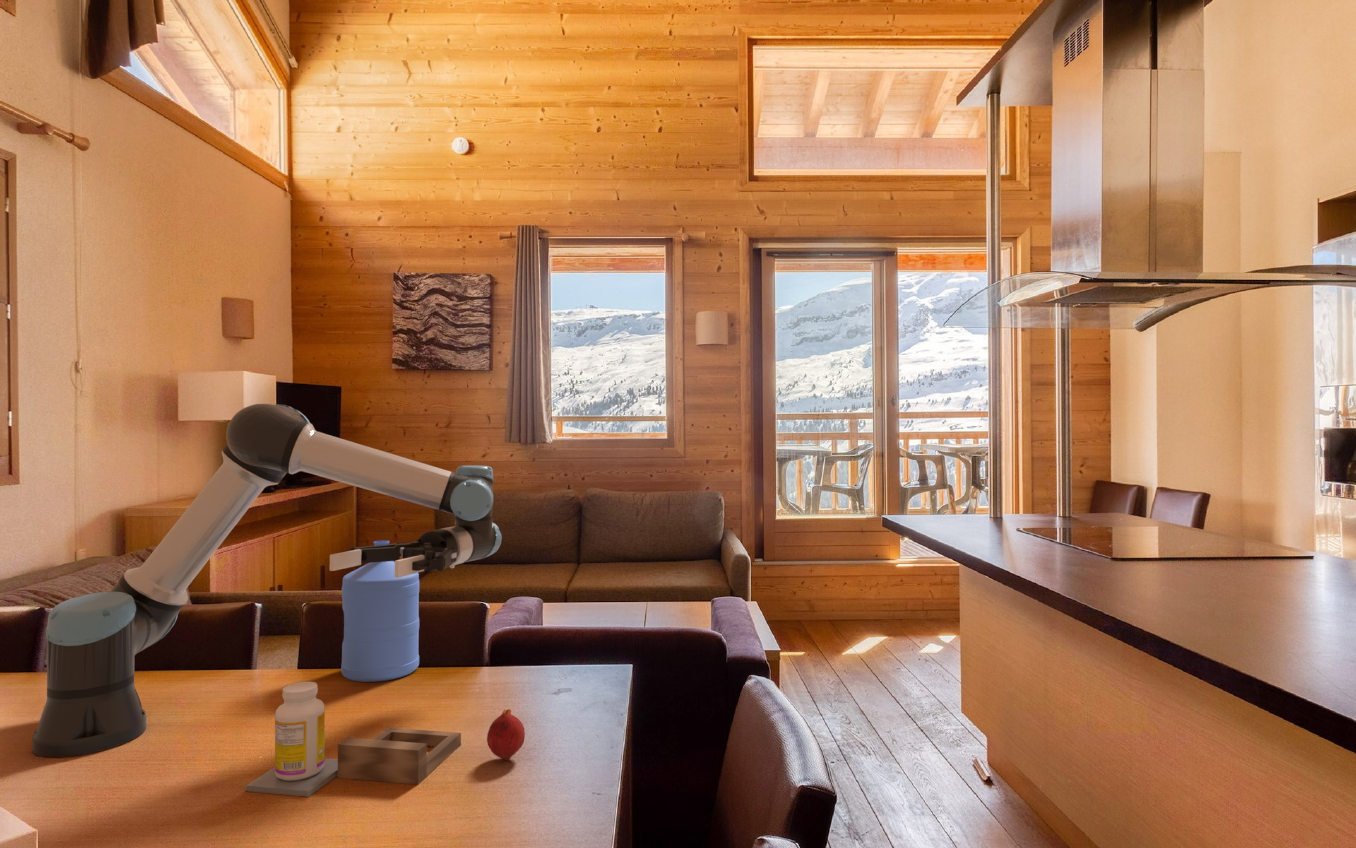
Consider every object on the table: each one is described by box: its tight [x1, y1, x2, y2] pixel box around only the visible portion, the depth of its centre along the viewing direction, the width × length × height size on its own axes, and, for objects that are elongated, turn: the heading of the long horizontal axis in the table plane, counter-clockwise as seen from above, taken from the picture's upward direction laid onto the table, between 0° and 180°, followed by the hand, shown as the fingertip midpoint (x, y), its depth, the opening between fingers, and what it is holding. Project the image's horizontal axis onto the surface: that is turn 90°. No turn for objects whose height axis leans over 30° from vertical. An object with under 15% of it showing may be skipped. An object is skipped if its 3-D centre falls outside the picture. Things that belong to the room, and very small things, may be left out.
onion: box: [486, 707, 526, 761], centre depth 118 cm, size 6×6×8 cm
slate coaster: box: [245, 758, 338, 798], centre depth 112 cm, size 10×10×1 cm
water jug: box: [340, 540, 420, 683], centre depth 162 cm, size 16×16×28 cm
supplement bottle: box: [274, 681, 326, 781], centre depth 112 cm, size 7×7×13 cm
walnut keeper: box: [337, 727, 462, 786], centre depth 118 cm, size 13×14×5 cm
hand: (363, 566), depth 125 cm, fingers open, 13 cm apart
